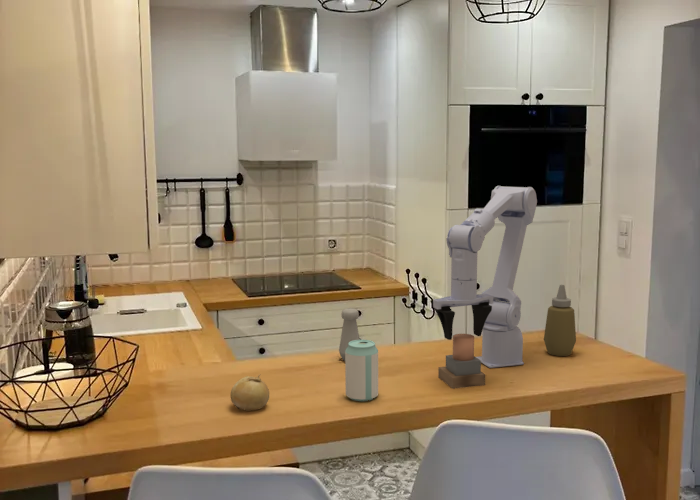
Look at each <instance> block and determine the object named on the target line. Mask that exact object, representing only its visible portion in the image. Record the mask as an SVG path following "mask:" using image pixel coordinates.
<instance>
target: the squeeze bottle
mask: <svg viewBox="0 0 700 500" xmlns="http://www.w3.org/2000/svg"><path fill="white" fill-rule="evenodd" d="M571 306H572V299H570V298H568V297H567V292H566V287H565V284H559V286H558V290H557V293H556V297H552V299H551V306H548V308H547V313H546V320H545V327H544V333H543V335H544V336H543V342H544V345H545V348H546V352H547V353H548V354H550V355H552V356H556V357H568V356H570V355H572V352H573V350H574V347H575V345H576V342H577V335H576V319H575V318H576V316H575V309H574V308H573V307H571Z"/></svg>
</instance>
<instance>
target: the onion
mask: <svg viewBox="0 0 700 500" xmlns="http://www.w3.org/2000/svg"><path fill="white" fill-rule="evenodd" d="M260 376H261V374H260V373H259V374H258V375H257V376H256V377H255V376H248V375H247V376H243V377H242V378H240V379H239V380H237V381H236V382H235V383H234V384H233V386H232V388H231V390H230V401H231V402H232V404H233V405H234V407H235V408H237V409H238V410H242V411H248V412H250V411H256V410H257V411H258V410H260V409H262V408H263V407H265V406H266V404H267V403H268V402H269V399H270V389H269V386H268V385H267V383H266V382H264V381H263V380H262V379H261V378H260Z"/></svg>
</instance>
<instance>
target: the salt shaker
mask: <svg viewBox="0 0 700 500" xmlns="http://www.w3.org/2000/svg"><path fill="white" fill-rule="evenodd" d="M359 314H360V313H359V311H358V309H356V308H351V307H350V308H344V309H343V310H342V311H341V314H340V315H341V319H343V322H342V328H341V336H340V341H339V349H338V352H339V353H338V354H340V357H341V359H343V360H342V361H344V362H345V350H346V349H347V347H348V343H349V342H350V341H353V340H361V338H360V333H359V329H358V322H357V319H359V317H360V315H359Z"/></svg>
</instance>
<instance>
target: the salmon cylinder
mask: <svg viewBox="0 0 700 500" xmlns="http://www.w3.org/2000/svg"><path fill="white" fill-rule="evenodd" d="M452 355H453V359H455V360H459V361H470V360H473V359H474V356H475V336H474V334H470V333H456V334H454V335H453V334H452Z"/></svg>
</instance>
